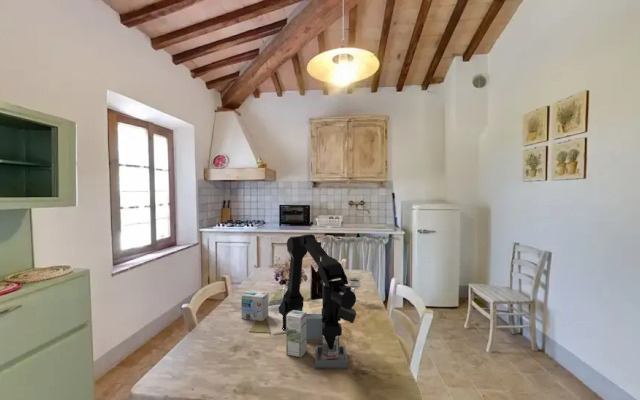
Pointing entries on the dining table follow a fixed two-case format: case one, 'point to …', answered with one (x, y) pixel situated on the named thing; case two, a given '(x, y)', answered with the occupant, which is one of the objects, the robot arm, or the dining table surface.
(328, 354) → the pill bottle
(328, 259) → the robot arm
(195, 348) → the dining table surface
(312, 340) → the mounted unit
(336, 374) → the dining table surface
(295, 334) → the syrup box
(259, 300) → the light bulb box
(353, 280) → the wineglass
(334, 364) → the parts tray
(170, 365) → the dining table surface
